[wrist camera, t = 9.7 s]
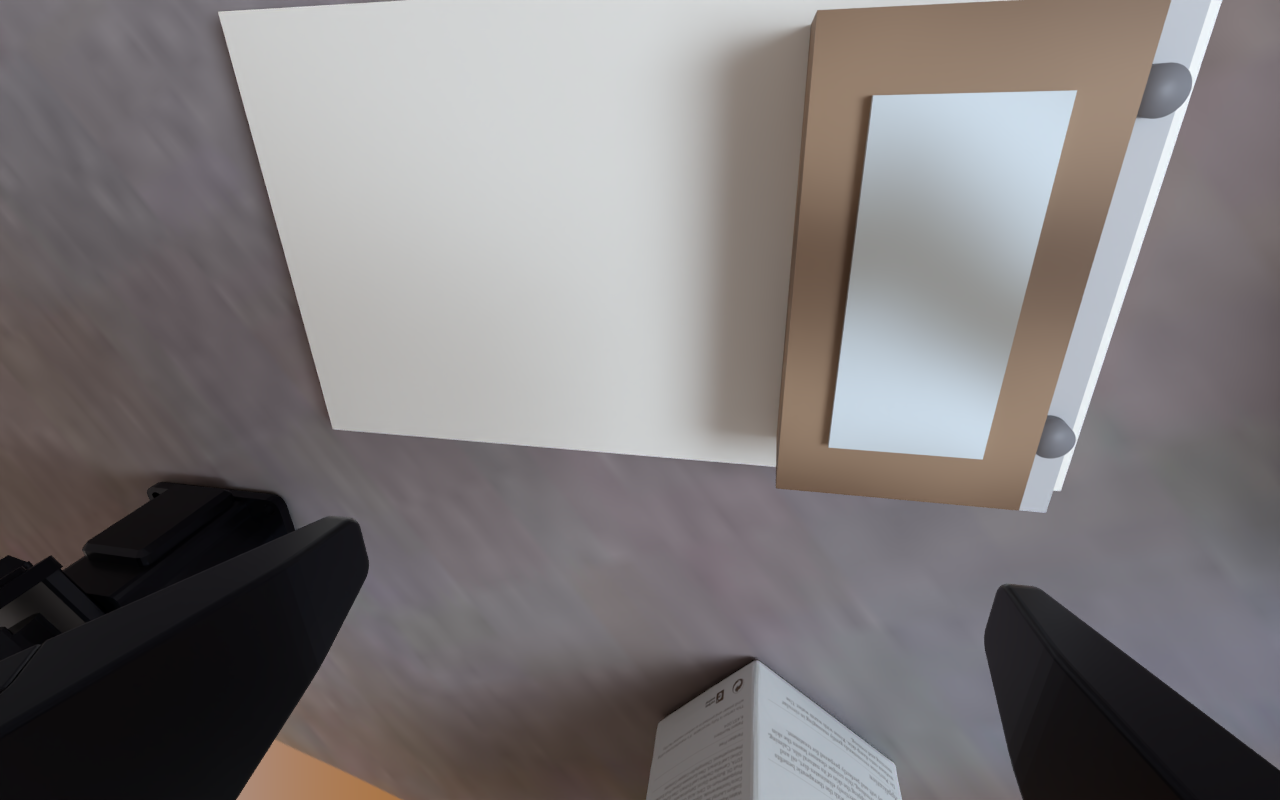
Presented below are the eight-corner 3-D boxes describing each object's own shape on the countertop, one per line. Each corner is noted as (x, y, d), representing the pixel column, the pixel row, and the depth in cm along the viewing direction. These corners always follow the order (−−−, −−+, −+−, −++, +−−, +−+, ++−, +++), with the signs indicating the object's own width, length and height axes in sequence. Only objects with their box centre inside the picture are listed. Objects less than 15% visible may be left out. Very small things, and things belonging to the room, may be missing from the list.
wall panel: (1050, 476, 19) (1085, 526, 17) (346, 419, 23) (301, 453, 21) (1214, -43, 13) (1300, -70, 11) (240, 15, 18) (163, 4, 15)
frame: (986, 453, 18) (1021, 515, 15) (776, 437, 19) (775, 492, 17) (1100, 11, 13) (1180, -10, 11) (810, 24, 14) (817, 8, 12)
